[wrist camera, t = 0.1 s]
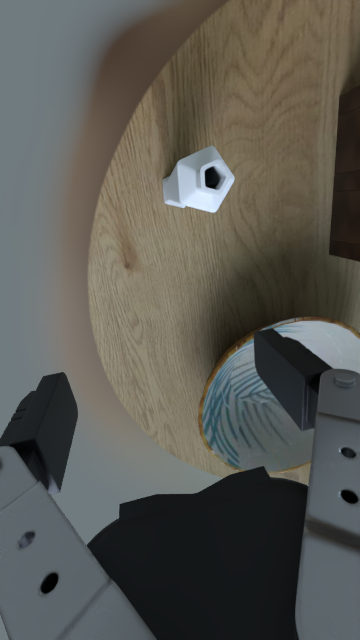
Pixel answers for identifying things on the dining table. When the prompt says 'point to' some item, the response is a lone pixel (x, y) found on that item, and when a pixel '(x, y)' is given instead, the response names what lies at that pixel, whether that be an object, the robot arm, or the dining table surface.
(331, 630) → the robot arm
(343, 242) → the holder
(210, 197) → the perfume bottle
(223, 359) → the bowl
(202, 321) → the dining table surface
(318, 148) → the dining table surface
